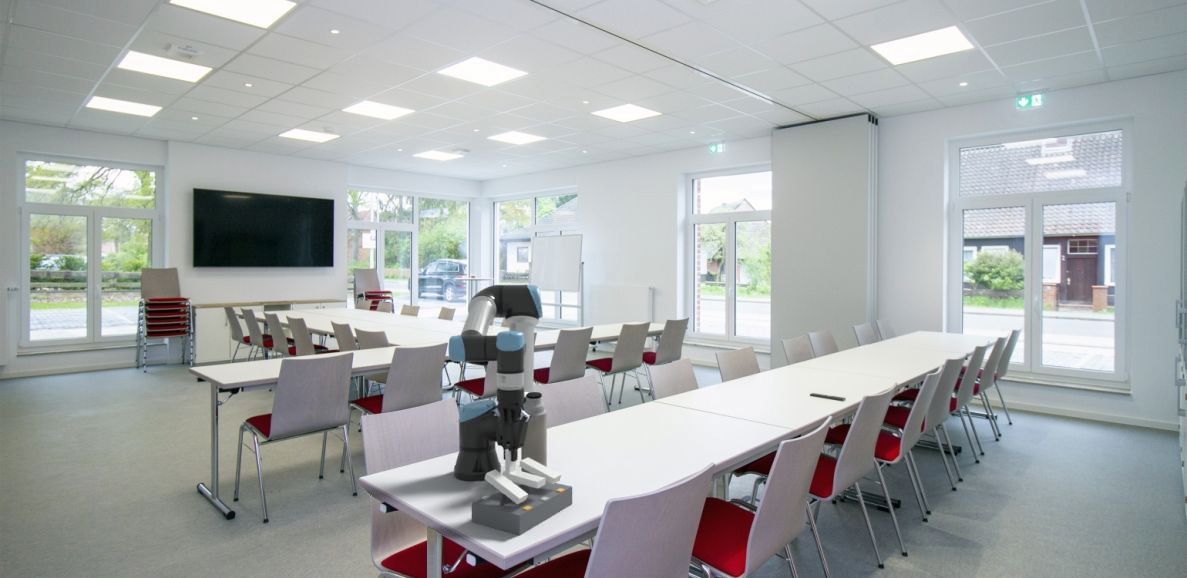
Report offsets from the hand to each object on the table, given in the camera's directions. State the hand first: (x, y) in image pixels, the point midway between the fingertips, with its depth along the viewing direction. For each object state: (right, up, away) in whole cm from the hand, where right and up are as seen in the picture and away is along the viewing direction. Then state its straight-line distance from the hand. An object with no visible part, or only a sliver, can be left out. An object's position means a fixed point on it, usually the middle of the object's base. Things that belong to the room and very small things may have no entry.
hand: (510, 472), depth 168 cm
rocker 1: (0, -1, -9) cm, 9 cm away
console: (+4, -11, -2) cm, 11 cm away
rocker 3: (+8, -1, +4) cm, 9 cm away
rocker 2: (+4, -1, -2) cm, 5 cm away
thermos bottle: (+4, -10, +24) cm, 26 cm away
